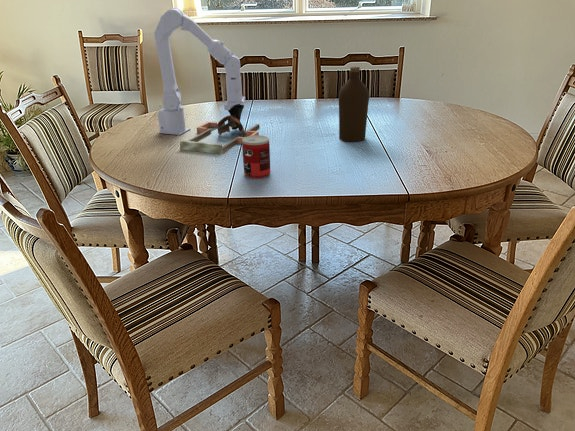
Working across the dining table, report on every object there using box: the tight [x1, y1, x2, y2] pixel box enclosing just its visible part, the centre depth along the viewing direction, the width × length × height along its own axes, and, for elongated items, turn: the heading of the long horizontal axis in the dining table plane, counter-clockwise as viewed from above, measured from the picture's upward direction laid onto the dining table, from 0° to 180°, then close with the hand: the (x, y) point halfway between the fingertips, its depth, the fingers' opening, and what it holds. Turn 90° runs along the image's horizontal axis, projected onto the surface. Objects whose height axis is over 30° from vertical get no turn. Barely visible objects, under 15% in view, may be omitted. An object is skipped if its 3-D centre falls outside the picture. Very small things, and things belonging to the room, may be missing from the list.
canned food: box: [241, 134, 271, 179], centre depth 143 cm, size 8×8×11 cm
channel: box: [178, 122, 260, 155], centre depth 178 cm, size 16×32×3 cm, turn 160°
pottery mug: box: [216, 114, 245, 137], centre depth 182 cm, size 12×10×8 cm
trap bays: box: [196, 121, 260, 144], centre depth 182 cm, size 25×16×2 cm, turn 70°
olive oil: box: [338, 66, 370, 143], centre depth 170 cm, size 11×11×25 cm
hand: (236, 124), depth 189 cm, fingers closed
